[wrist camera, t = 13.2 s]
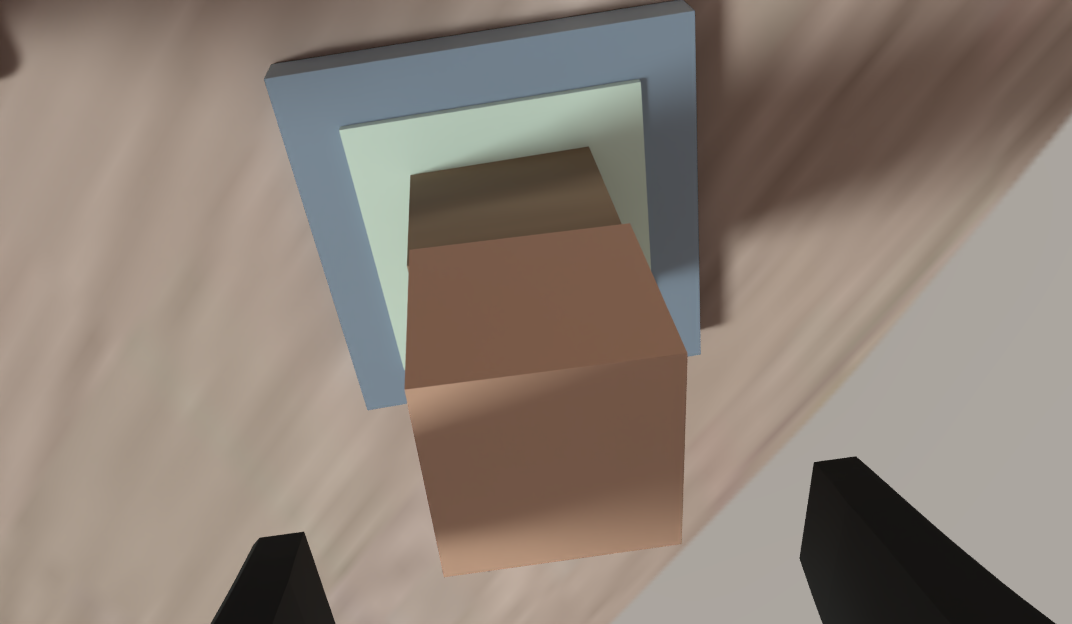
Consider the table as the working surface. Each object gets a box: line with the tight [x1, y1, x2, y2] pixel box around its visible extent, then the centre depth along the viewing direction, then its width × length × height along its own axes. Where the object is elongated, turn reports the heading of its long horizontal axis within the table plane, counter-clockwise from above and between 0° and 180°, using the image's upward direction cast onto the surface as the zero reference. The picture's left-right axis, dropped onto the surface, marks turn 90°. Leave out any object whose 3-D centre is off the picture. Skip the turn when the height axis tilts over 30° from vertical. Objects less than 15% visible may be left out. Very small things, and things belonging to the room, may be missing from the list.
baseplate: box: [264, 0, 701, 410], centre depth 20 cm, size 9×9×1 cm
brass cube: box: [407, 146, 622, 273], centre depth 18 cm, size 4×4×4 cm
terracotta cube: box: [404, 223, 688, 577], centre depth 14 cm, size 4×4×4 cm
